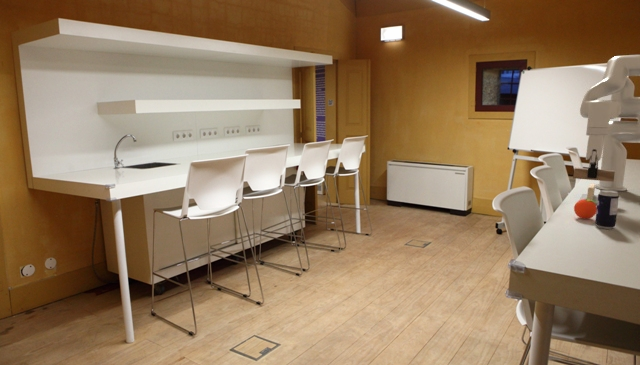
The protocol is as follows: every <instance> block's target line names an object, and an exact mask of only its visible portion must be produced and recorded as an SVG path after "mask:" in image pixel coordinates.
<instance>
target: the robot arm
mask: <svg viewBox="0 0 640 365" xmlns="http://www.w3.org/2000/svg"><path fill="white" fill-rule="evenodd" d="M629 77H640V54H629V55H627V54H626V55H616V56H614V57H612V58H610V59H609V60H607V62H606V68H605V71H604V74H603V77H602V79H601V81H600V82H597V83H596V84H594V85H593V86H592V87H590V89H588V90H587V91H586V92H585V94H584V96H583V98H582V102H581V104H580V108H579V114H580V116H581V117H583V118H584V119H587V122H586V123H587V126H586V134H585V136H588V140H587V146H586V155H585V160H586V161H588V160H589V164H588V176H587V177H588V178H597V170H598V169H599V161H600V160H601V166H600V169H601V170H614V171H615V175H614V182H611V181H599V183H597V184H596V183H595V189H598V190H613V191H617V192H621V191H622V192H623V191H626V190H627V189H628V187H627V186H625V185H624V183H625V182H624V180H625V172H626V164H627V157H628V156H627V155H628V151H627V149H626V147H625V146H624V145H623V143H633V144H634V143H636V144H637V143H638V144H640V96H635V89H636V88H635V84H634V83H633V81H632V80H631V79H630V78H629ZM607 96H611V98H610V100H607V99H606V100H605V99H602V100H600V98H605V97H607ZM616 118H617V119H636V120H637V121H636V120H634V121H632V120H631V121H629V120H614V119H616Z"/></svg>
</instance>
